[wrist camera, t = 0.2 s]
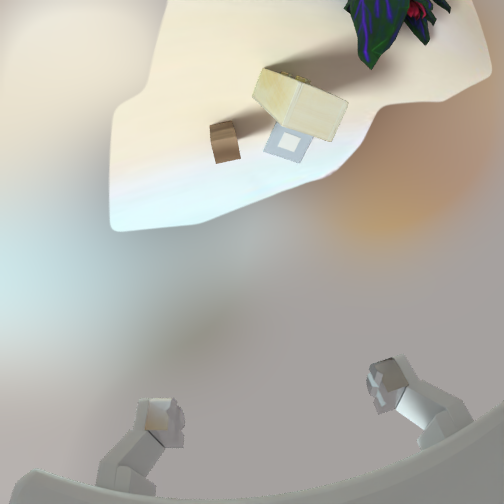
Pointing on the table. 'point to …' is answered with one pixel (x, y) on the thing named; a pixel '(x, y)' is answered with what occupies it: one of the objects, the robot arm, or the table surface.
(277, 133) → the page
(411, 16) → the decorative plant
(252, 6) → the table surface
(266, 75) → the tall cream box
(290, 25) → the table surface
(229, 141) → the walnut block
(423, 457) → the robot arm
